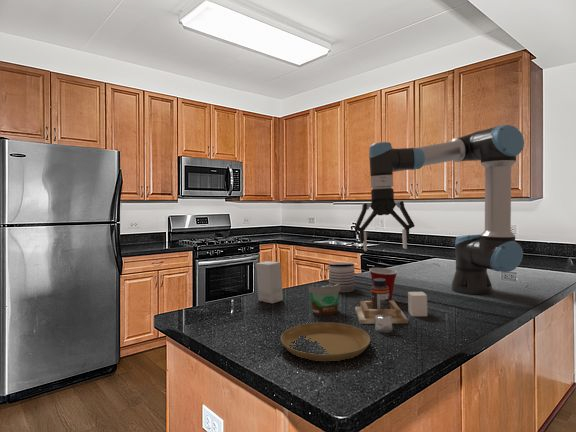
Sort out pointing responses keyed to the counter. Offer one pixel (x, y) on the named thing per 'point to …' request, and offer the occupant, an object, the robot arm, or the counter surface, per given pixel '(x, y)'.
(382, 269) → the plastic cup
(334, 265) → the off-white ribbed cylinder
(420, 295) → the off-white block
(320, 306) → the food container
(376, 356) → the counter surface
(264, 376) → the counter surface
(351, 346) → the plant saucer
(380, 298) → the supplement bottle
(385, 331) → the small clear jar
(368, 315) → the tray
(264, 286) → the skincare box
